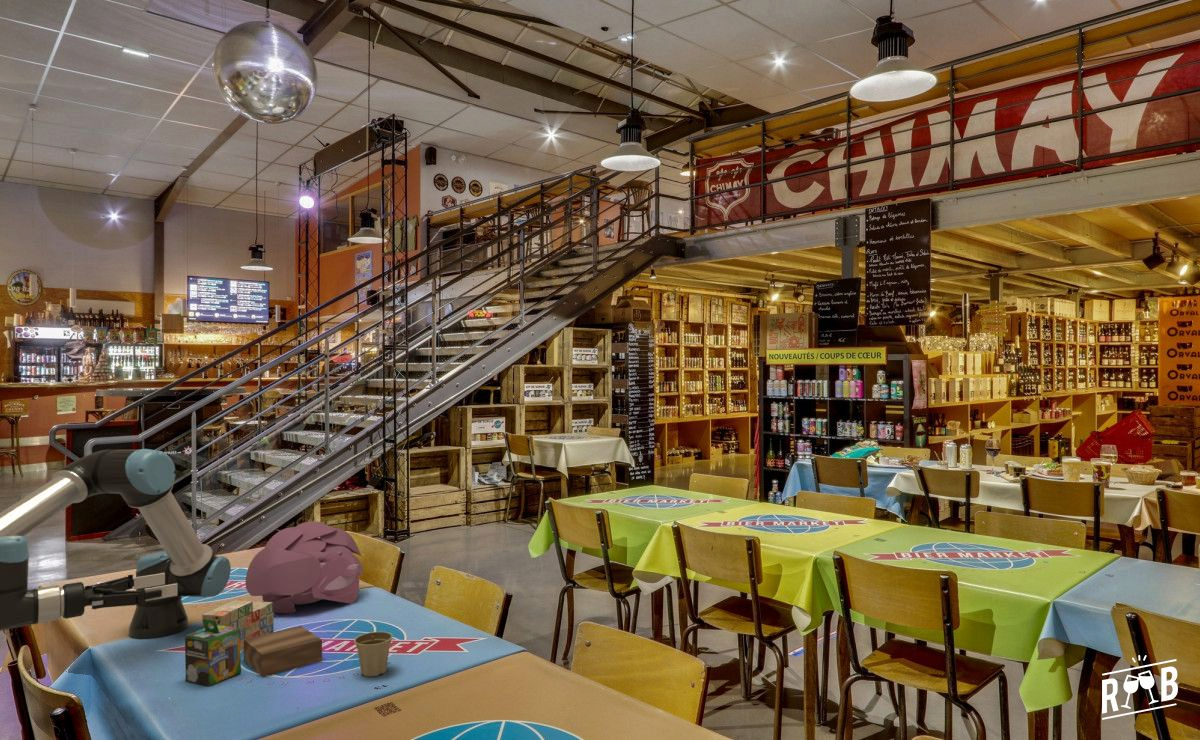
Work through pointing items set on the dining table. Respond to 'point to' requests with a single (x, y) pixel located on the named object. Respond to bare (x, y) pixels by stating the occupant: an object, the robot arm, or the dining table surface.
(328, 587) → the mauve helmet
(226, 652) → the chalk box
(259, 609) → the stack of blocks
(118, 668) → the dining table surface
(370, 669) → the flower pot
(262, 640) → the walnut base block
